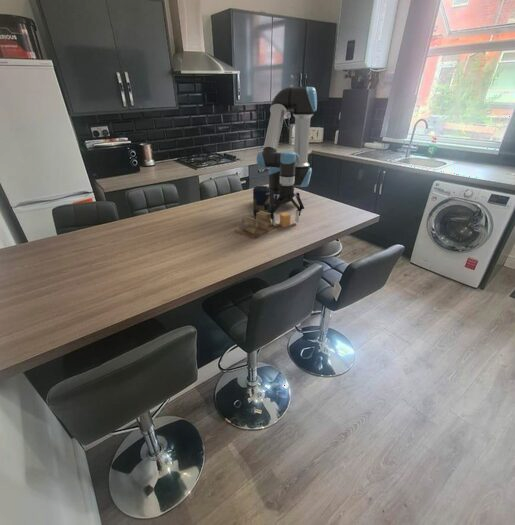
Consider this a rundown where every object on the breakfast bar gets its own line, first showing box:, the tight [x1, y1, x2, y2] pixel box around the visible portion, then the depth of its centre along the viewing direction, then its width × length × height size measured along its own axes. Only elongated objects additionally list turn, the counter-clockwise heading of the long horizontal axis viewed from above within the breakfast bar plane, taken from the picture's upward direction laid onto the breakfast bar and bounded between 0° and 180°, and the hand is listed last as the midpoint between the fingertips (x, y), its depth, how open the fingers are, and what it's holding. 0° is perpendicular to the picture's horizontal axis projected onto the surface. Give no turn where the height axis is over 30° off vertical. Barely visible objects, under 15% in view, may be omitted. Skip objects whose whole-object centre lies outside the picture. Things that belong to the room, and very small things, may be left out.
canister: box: [252, 185, 271, 218], centre depth 167 cm, size 10×10×18 cm
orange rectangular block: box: [279, 212, 291, 228], centre depth 159 cm, size 5×4×6 cm
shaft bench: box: [234, 211, 280, 240], centre depth 154 cm, size 20×14×7 cm
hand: (285, 223), depth 159 cm, fingers open, 13 cm apart
